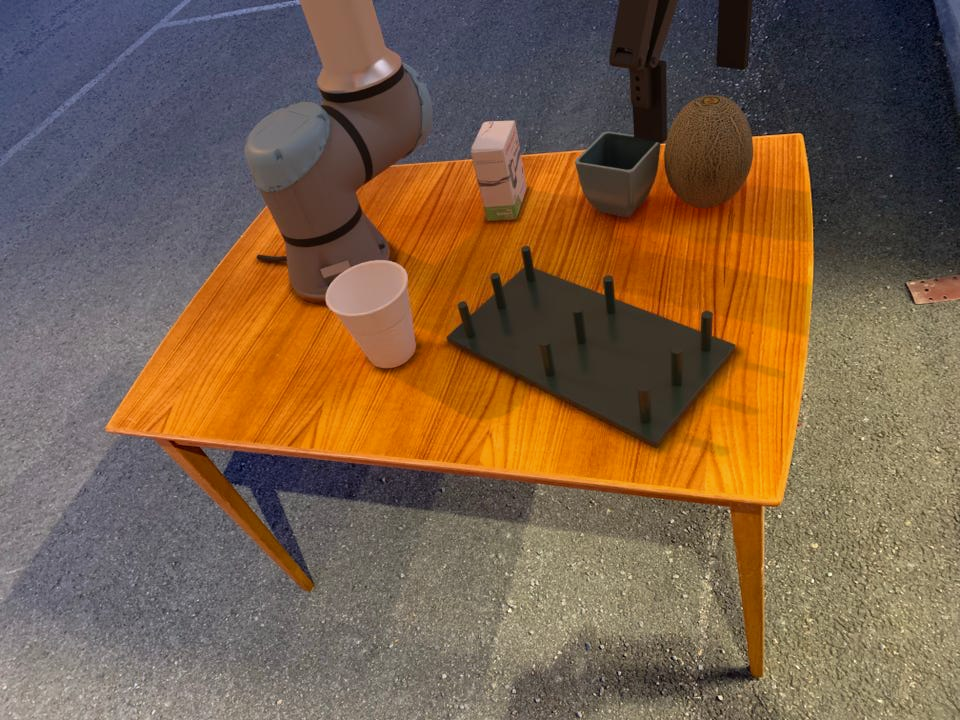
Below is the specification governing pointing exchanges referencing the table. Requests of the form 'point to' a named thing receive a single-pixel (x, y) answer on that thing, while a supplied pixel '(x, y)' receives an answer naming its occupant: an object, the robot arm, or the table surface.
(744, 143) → the fruit
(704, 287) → the table surface
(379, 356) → the cup
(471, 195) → the table surface
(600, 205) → the flower pot
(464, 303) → the dish rack
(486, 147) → the ink box
